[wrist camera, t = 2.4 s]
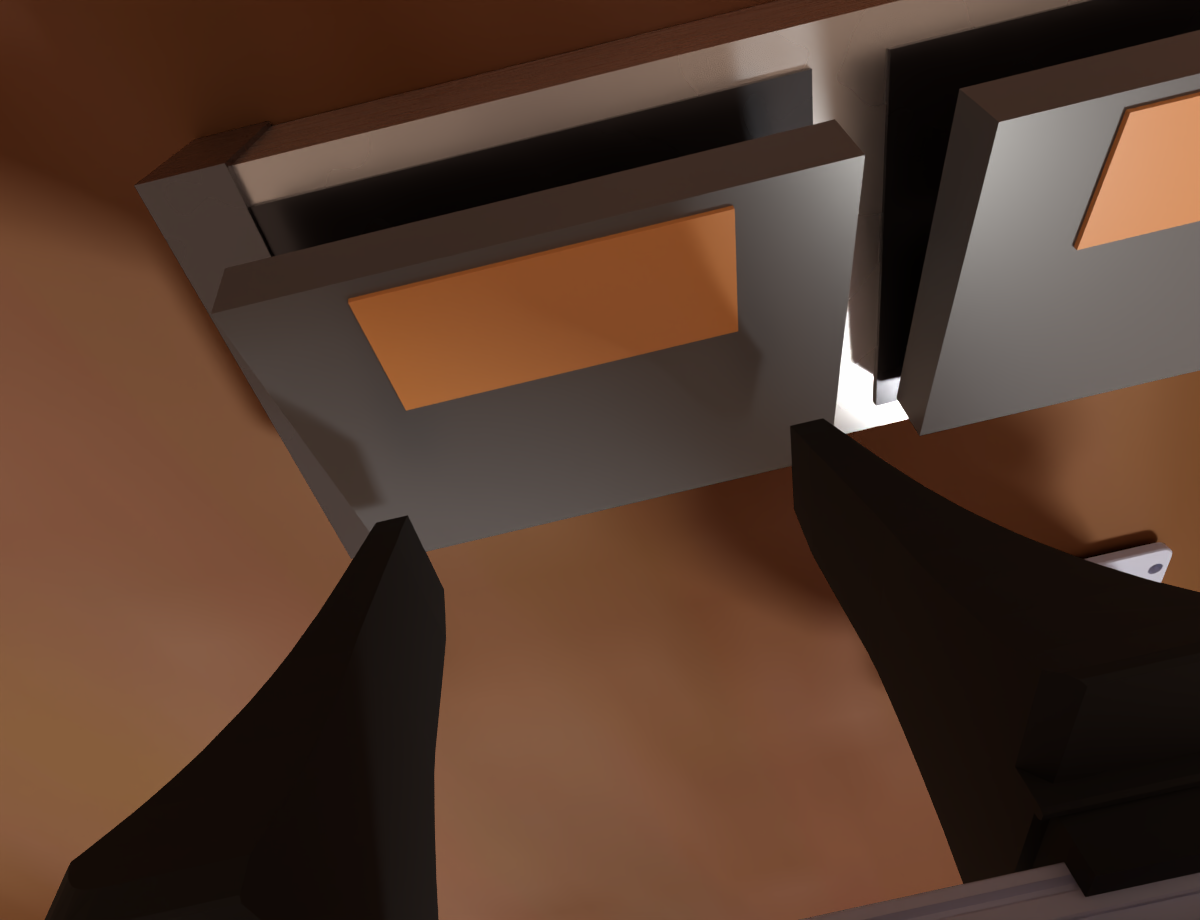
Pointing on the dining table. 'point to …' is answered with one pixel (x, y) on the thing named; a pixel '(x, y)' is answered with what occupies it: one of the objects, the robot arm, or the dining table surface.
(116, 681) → the dining table surface
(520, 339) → the panel
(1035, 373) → the rocker
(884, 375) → the grey switch panel
